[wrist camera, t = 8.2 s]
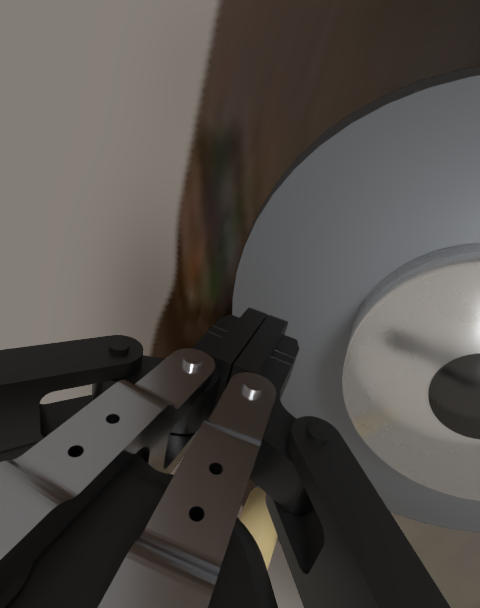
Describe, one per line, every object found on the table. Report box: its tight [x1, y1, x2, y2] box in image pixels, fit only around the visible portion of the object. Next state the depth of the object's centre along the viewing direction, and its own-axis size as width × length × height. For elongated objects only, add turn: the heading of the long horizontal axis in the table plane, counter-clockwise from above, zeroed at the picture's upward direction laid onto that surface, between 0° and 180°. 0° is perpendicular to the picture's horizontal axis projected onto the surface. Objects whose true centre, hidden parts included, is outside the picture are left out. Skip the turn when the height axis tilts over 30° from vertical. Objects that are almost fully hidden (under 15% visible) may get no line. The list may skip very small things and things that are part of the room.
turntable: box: [232, 75, 480, 570], centre depth 17 cm, size 26×21×6 cm
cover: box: [342, 243, 480, 501], centre depth 16 cm, size 10×10×3 cm
